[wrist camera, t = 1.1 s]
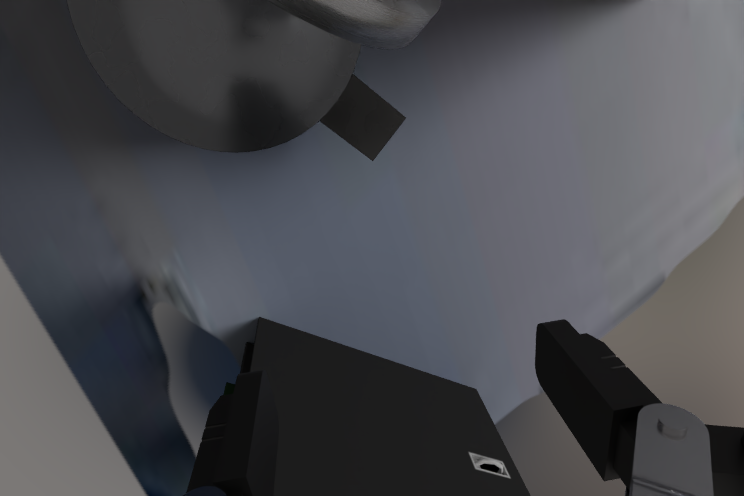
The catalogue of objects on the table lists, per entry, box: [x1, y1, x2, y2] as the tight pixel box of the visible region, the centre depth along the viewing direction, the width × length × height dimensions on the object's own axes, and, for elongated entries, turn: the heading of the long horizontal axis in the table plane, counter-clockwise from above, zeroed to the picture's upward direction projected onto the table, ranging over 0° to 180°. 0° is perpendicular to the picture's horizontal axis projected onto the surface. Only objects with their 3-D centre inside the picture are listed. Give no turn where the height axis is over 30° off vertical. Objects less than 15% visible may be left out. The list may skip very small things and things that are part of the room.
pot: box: [67, 0, 406, 161], centre depth 31 cm, size 17×25×12 cm
